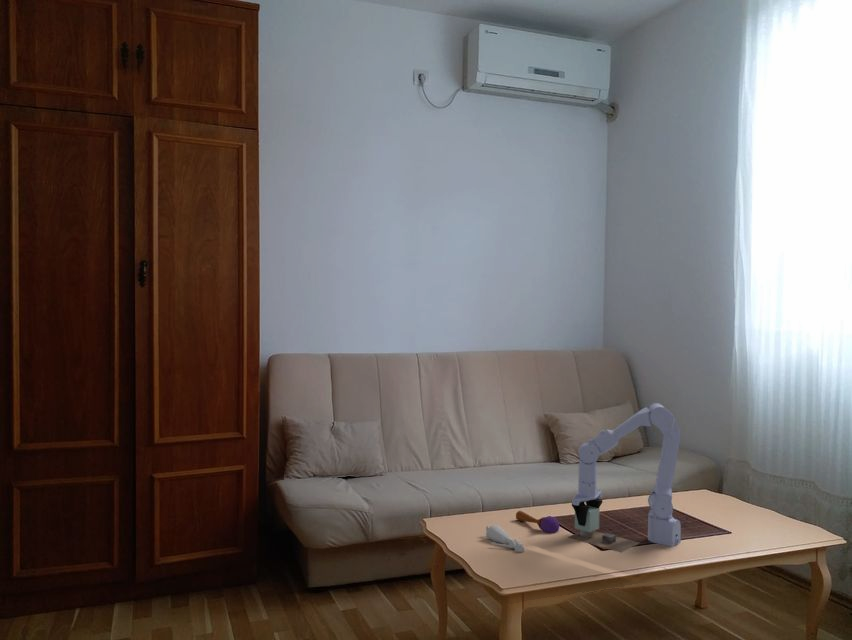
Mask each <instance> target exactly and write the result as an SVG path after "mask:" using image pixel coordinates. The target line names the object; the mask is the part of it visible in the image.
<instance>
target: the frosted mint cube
mask: <svg viewBox="0 0 852 640" xmlns="http://www.w3.org/2000/svg"><path fill="white" fill-rule="evenodd" d="M574 529H575V530H579V531H580V530H582V531H586V532H592V531H597V530H599V529H600V507H599V508H595V507H591V506H590V507H589V509H588V512H587V517H586V524H585V526H581V525H579V524H578V520H577V516H576V513H575V512H574Z"/></svg>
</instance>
